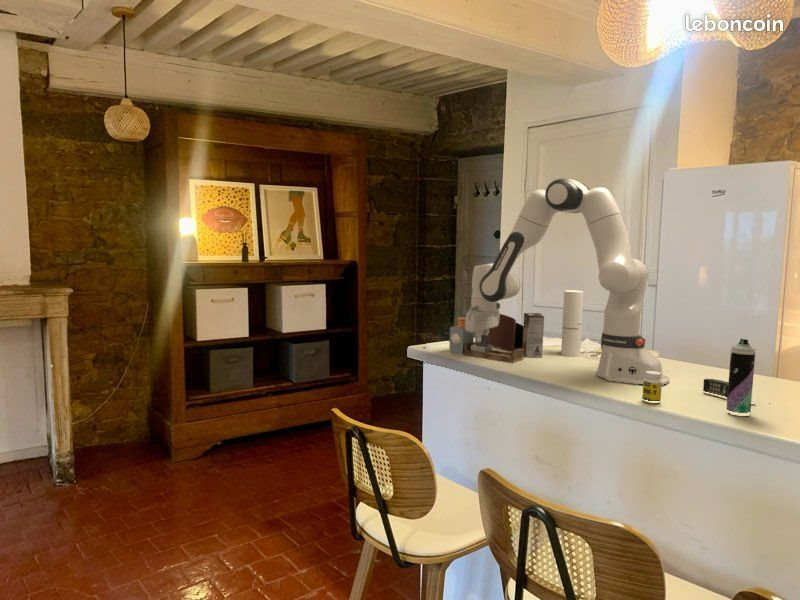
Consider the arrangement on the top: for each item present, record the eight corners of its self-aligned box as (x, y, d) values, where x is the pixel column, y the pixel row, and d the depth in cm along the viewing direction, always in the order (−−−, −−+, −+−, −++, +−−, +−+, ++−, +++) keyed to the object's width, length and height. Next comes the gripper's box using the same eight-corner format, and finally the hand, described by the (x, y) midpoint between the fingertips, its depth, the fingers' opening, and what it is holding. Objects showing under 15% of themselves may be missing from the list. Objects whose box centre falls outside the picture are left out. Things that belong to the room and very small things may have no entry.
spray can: (727, 415, 154) (733, 339, 152) (724, 409, 159) (730, 336, 157) (751, 418, 152) (758, 341, 150) (747, 412, 157) (754, 338, 155)
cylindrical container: (584, 355, 230) (587, 291, 227) (571, 357, 226) (575, 292, 223) (569, 352, 236) (572, 290, 233) (557, 354, 232) (560, 290, 229)
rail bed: (523, 359, 220) (523, 349, 220) (513, 363, 214) (513, 352, 213) (474, 352, 233) (474, 342, 232) (463, 355, 227) (463, 344, 226)
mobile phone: (702, 378, 175) (752, 388, 162) (708, 377, 177) (758, 387, 164) (701, 394, 176) (751, 406, 163) (707, 393, 177) (757, 405, 164)
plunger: (468, 334, 231) (468, 318, 231) (463, 335, 229) (463, 319, 228) (460, 333, 234) (460, 317, 233) (455, 334, 231) (455, 318, 230)
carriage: (492, 352, 227) (492, 334, 226) (484, 355, 222) (484, 336, 221) (478, 350, 230) (479, 333, 230) (470, 353, 226) (471, 334, 225)
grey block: (473, 352, 233) (473, 327, 232) (461, 355, 227) (462, 329, 226) (460, 350, 237) (460, 325, 236) (448, 353, 230) (449, 327, 229)
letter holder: (513, 352, 235) (514, 317, 234) (483, 343, 252) (484, 311, 251) (532, 350, 240) (533, 316, 238) (502, 342, 257) (503, 310, 256)
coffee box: (521, 352, 233) (523, 312, 232) (538, 353, 233) (539, 312, 231) (526, 357, 224) (527, 315, 222) (543, 357, 224) (544, 316, 222)
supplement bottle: (639, 401, 166) (641, 372, 165) (645, 398, 169) (646, 369, 168) (657, 405, 163) (659, 375, 162) (662, 401, 166) (664, 372, 165)
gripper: (476, 308, 214) (474, 345, 216) (503, 303, 230) (501, 338, 232) (461, 306, 218) (460, 343, 220) (488, 302, 234) (487, 336, 236)
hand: (481, 341), depth 226 cm, fingers closed on carriage, 2 cm apart
